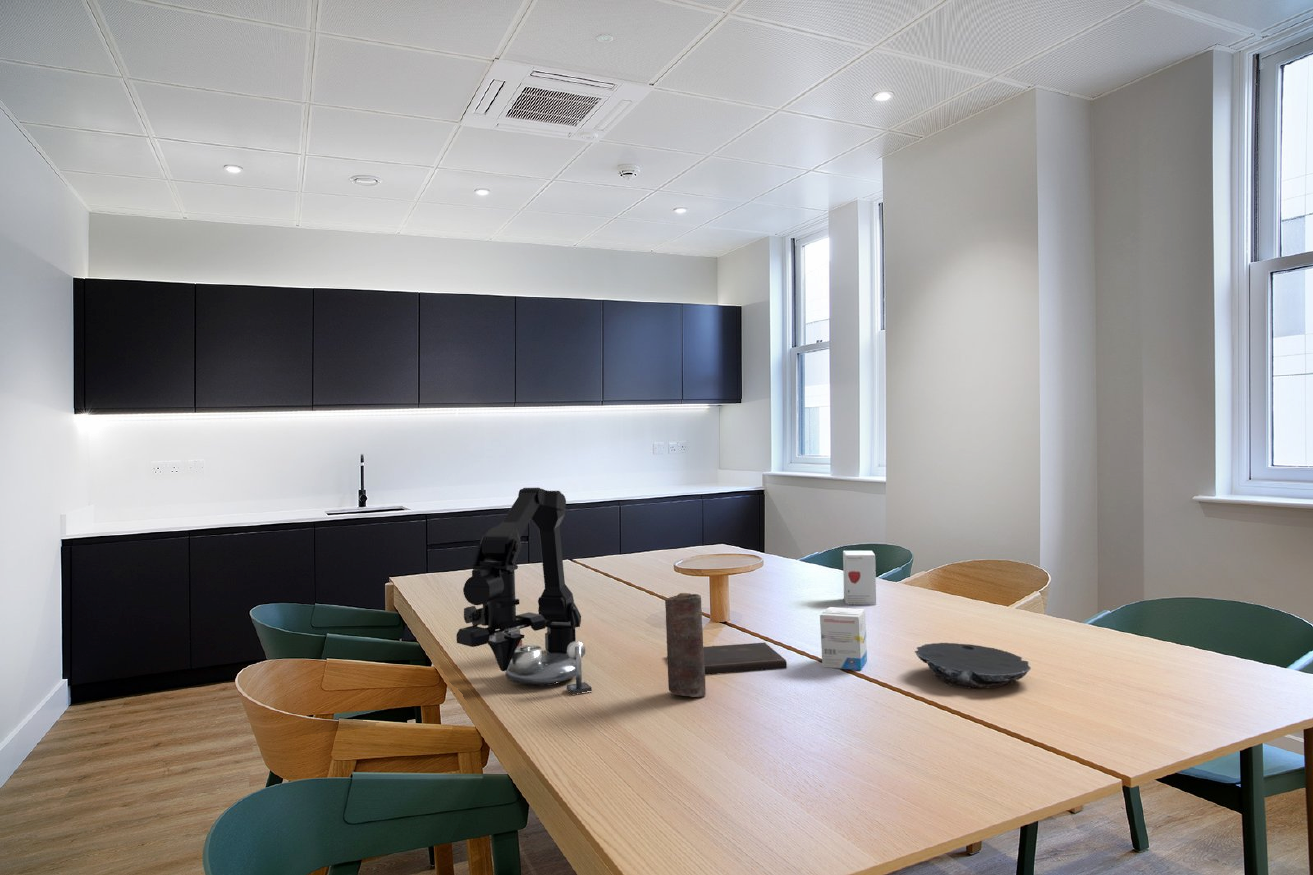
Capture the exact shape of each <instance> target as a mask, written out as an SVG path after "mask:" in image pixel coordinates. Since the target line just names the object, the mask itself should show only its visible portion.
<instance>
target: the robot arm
mask: <svg viewBox="0 0 1313 875" xmlns="http://www.w3.org/2000/svg"><path fill="white" fill-rule="evenodd" d="M566 505H567V498H566V496H565V495H564V494H563V493H562V492H561V491H560V490H547V489H543V488H541V487H523V488H520V489H519V491H518V496H517V498H516V499H515V501H514V503H513V504H512V505H511V507H510V509H509V510H508V512H507V514H506V515H505V517H504V518H503V520H502V521H501V523H500V524H498V525H496V526H494V527H492V528H490V529H489V530H488V531H487V532H486V533H485V534H484V535H483V537H482V538H481V540H480V542H479V544H478V548H477V551H476V555H475V558H474V561H473V565H472V571H471V576H470V577H468V578H467V579H466V581H465V583H464V586H463V587H462V592H463V595H464V598H465V600H466V601H467V603H469V604H471V605H472V606H471V605H470V606H468V607H467V606H466V607H464V608H463V618H464V619H463V620H464V622H465V624H471V625H470V626H466V627H463V628H461V627H460V628H459V629H458V631H457V632H456V644H459V645H464V646H467V647H471V648H473V647H474V648H475V647H481V646H484V645H488V646H489V647H490V649H491V651H492V653H493V655H494V657H495V660H496V662H497V665H498V667H499V670H500V671H502V672H506V670H507V668H508V666H509V664H510V661H511V659H512V657H513V655H514V652H515V650H516V648H517V646H518V645H519V643H520V641H521V640H523V639H524V638H525V635H524V634H521V629H525V628H529V627H530V629H532V630H533V631H534V632H536V631H540V630H544V629H546V632H545V633H544V641H545V642H544V643H545V644H544V645H545V646H544V647H545V651H546V650H547V651H548V652H547V651H546V652H547V653H562V654H567V647H568V645H569V644H570V643H571V642H573V641H577V640H576V638H577V637H576V628H580V627H581V624H582V615H581V613H580V611H579V609H578V606H577V605H576V603H575V600H574V595H573V592H572V591H571V590H570V589H569V587H568V585H566V581H565V572H564V562H563V552H562V551H563V550H562V539H561V527H560V526H561V523H562V522H563V519H564V518H565V515H566V507H567V506H566ZM530 521H532V522H533V523H534V525H535V526H536V527H537V529H538V532H539V534H538V535H539V542H540V551H541V552H540V553H541V562H542V572H543V581H544V589H543V592H542V593H541V595H540V596H539V597H538V599H537V603H538V604H537V605H538V610H537V612H538V613H534V612H525V613H520V614H517V610H516V608H517V607H516V606H518V605H520V598H516V579H515V578H516V577H515V572H516V571H515V570H518V568H519V566H518V564H517V563H516V561H517V560H518V556H519V554H520V553H521V549H522V543H521V537H522V535H523V534H524V532H525V530H526V528H527V527H528V525H529V523H530ZM481 605H482V607H480V608H476V606H481ZM480 625H481V626H483V627H481V626H480ZM485 626H486V627H485Z"/></svg>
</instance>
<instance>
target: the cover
mask: <svg viewBox="0 0 1313 875" xmlns="http://www.w3.org/2000/svg"><path fill="white" fill-rule="evenodd" d="M542 653H543V652H542V646H539V645H532V644H530V645H529V644H527V645H525V644H524V645H523V644H522V646H517V648H516V650H515V652H514V655H513V657H512V659H511V661H510V664H509V666H508V671H509V672H512V673H519V674H521V673H531V672H536V671H538V670H540V669H541V668H542Z"/></svg>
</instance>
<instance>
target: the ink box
mask: <svg viewBox="0 0 1313 875" xmlns="http://www.w3.org/2000/svg"><path fill="white" fill-rule="evenodd" d="M866 611H867V610H866V609H865V608H864V609H861V608H860V609H859V608H848V607H834V606H829V607H828V608H826V609H825V610H824V611H823V612H822V613H820V615H819V624H820V640H821V642H820V644H821V663H822V664H821V665H822V668H831V669H839V670H840V669H841V670H842V669H843V670H851V671H852V670H853V671H854V670H855V671H862V670H863V668H864V667H865V665H866V664H867V661H868V652H867V651H868V650H867V648H868V647H867V619H866V618H867V616H866Z"/></svg>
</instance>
